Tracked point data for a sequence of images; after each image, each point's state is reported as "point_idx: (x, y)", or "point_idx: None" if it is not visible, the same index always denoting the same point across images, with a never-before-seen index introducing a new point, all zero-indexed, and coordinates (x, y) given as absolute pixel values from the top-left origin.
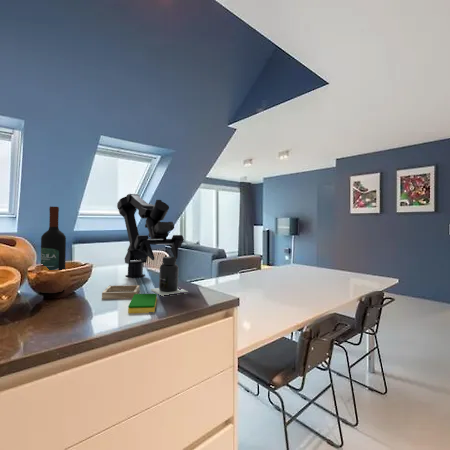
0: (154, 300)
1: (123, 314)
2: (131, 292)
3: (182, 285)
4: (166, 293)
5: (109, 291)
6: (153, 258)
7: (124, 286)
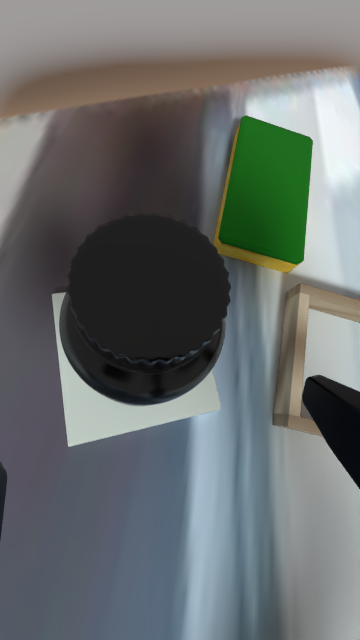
0: (238, 156)
1: None
2: (316, 288)
3: None
4: None
5: None
6: (320, 376)
7: None
